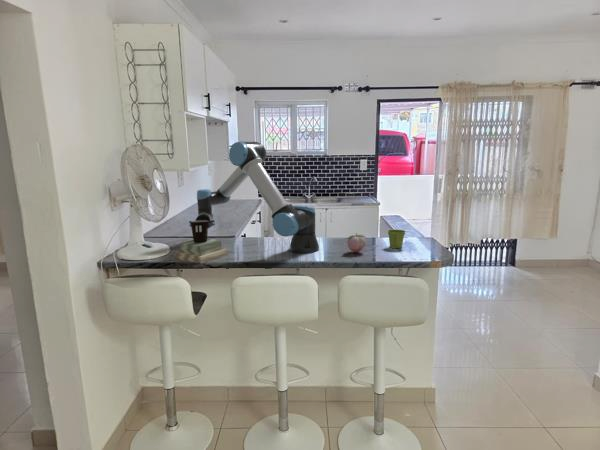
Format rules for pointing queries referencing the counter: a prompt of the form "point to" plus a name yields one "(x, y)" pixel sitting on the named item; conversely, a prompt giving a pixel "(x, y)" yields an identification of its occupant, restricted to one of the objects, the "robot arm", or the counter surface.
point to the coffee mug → (199, 235)
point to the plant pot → (396, 238)
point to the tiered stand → (200, 251)
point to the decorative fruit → (356, 243)
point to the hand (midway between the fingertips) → (198, 229)
